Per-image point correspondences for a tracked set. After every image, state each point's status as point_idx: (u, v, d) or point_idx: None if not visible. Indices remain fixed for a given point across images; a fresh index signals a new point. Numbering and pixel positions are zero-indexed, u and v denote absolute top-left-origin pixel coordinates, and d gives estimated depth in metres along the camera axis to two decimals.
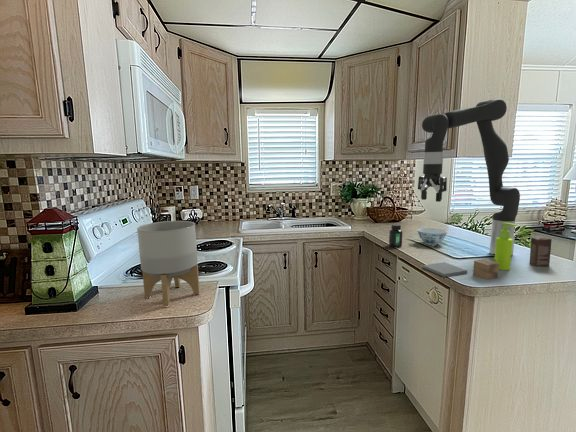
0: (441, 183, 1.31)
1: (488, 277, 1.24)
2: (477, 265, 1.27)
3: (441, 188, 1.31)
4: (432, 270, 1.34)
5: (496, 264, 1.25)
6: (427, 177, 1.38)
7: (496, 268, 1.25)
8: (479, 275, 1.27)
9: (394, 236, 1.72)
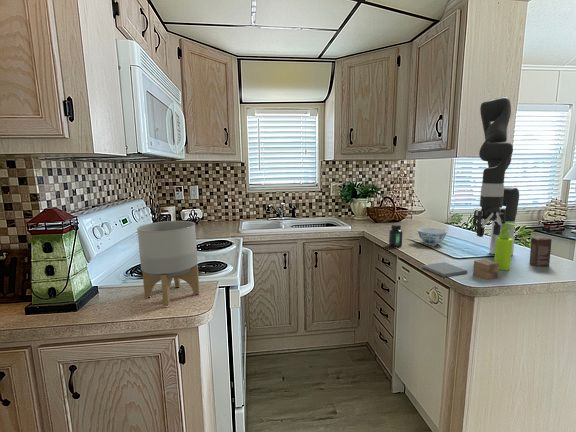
0: (505, 215, 1.25)
1: (488, 277, 1.24)
2: (477, 265, 1.27)
3: (504, 220, 1.25)
4: (432, 270, 1.34)
5: (496, 264, 1.25)
6: (490, 211, 1.22)
7: (496, 268, 1.25)
8: (479, 275, 1.27)
9: (394, 236, 1.72)
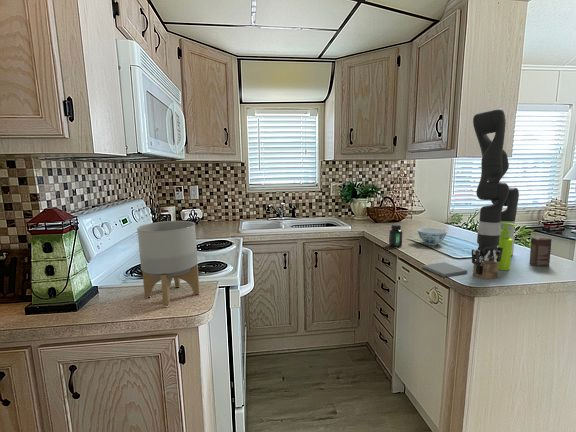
0: (500, 253, 1.27)
1: (488, 277, 1.24)
2: None
3: (499, 258, 1.28)
4: (432, 270, 1.34)
5: (496, 264, 1.25)
6: (487, 248, 1.25)
7: (496, 268, 1.25)
8: (479, 275, 1.27)
9: (394, 236, 1.72)
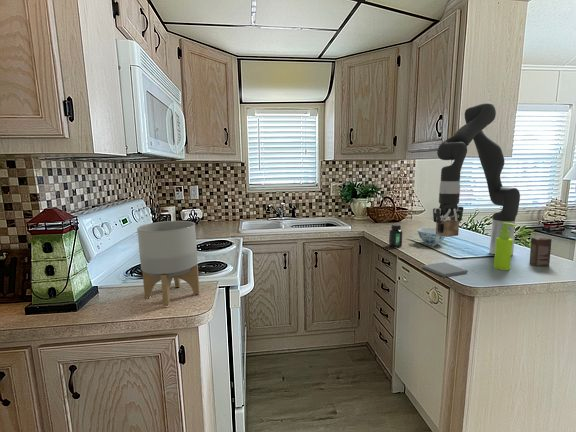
0: (461, 213, 1.32)
1: (449, 234, 1.29)
2: None
3: (460, 217, 1.32)
4: (432, 270, 1.34)
5: (456, 222, 1.29)
6: (447, 207, 1.29)
7: (456, 226, 1.30)
8: (441, 233, 1.32)
9: (394, 236, 1.72)
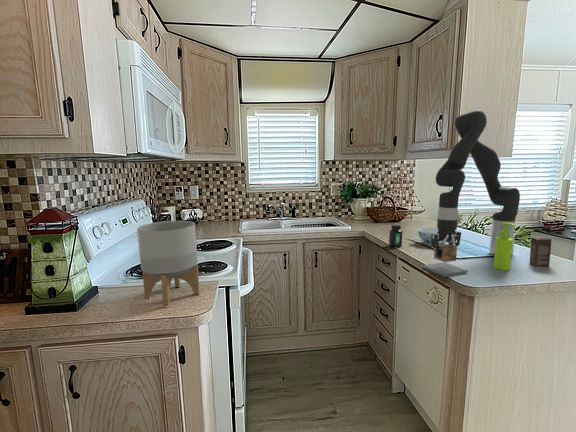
0: (459, 238, 1.34)
1: (446, 260, 1.31)
2: None
3: (458, 242, 1.34)
4: (432, 270, 1.34)
5: (454, 247, 1.31)
6: (445, 233, 1.31)
7: (454, 251, 1.32)
8: (439, 258, 1.33)
9: (394, 236, 1.72)
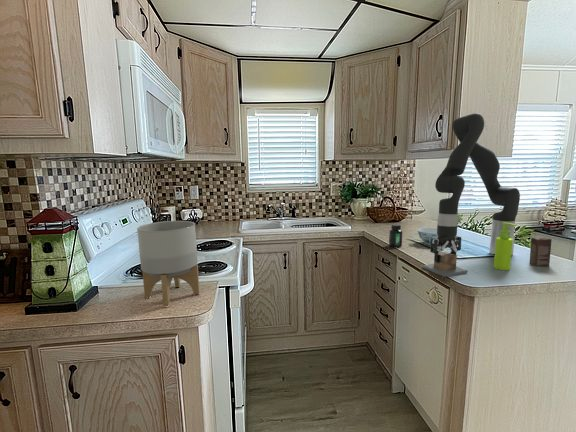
0: (460, 242, 1.34)
1: (446, 268, 1.31)
2: None
3: (460, 247, 1.35)
4: (432, 270, 1.34)
5: (454, 256, 1.32)
6: (445, 239, 1.31)
7: (454, 260, 1.32)
8: (439, 267, 1.34)
9: (394, 236, 1.72)
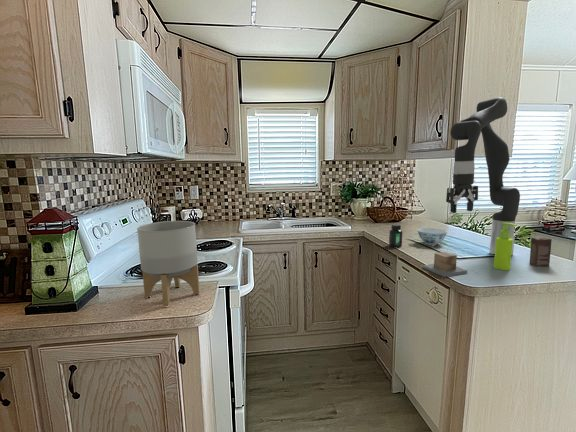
0: (477, 192, 1.30)
1: (446, 268, 1.31)
2: (437, 257, 1.34)
3: (477, 197, 1.31)
4: (432, 270, 1.34)
5: (454, 256, 1.32)
6: (462, 188, 1.28)
7: (454, 260, 1.32)
8: (439, 267, 1.34)
9: (394, 236, 1.72)
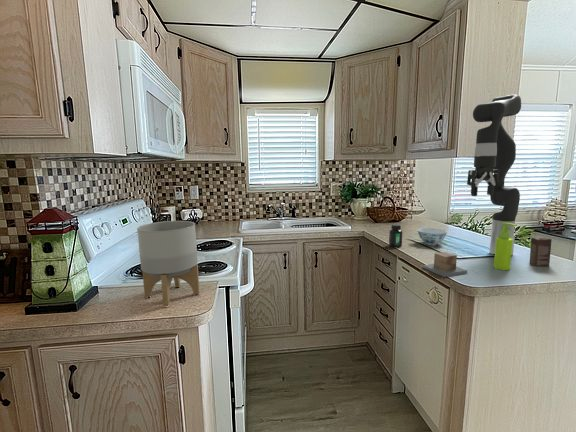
0: (498, 175, 1.29)
1: (446, 268, 1.31)
2: (437, 257, 1.34)
3: (498, 180, 1.29)
4: (432, 270, 1.34)
5: (454, 256, 1.32)
6: (483, 170, 1.26)
7: (454, 260, 1.32)
8: (439, 267, 1.34)
9: (394, 236, 1.72)
